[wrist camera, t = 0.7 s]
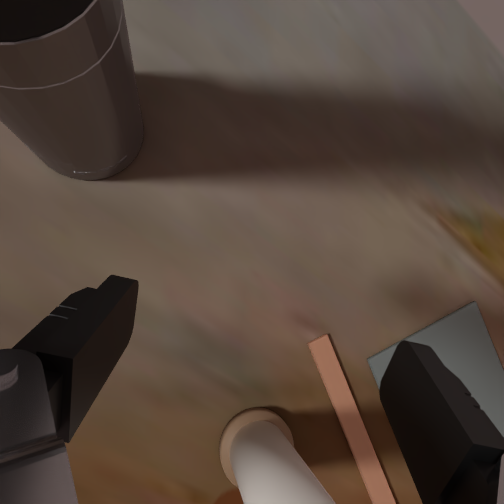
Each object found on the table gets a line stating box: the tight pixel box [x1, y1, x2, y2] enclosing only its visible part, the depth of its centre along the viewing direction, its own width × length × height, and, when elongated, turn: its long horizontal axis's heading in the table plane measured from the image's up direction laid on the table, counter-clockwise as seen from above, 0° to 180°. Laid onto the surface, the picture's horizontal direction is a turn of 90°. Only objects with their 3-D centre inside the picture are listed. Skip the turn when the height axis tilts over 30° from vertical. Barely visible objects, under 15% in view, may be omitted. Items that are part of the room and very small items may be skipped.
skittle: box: [219, 407, 336, 504], centre depth 23 cm, size 6×6×16 cm
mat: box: [367, 301, 504, 437], centre depth 35 cm, size 16×14×1 cm
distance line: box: [308, 334, 396, 504], centre depth 33 cm, size 22×2×1 cm, turn 23°
